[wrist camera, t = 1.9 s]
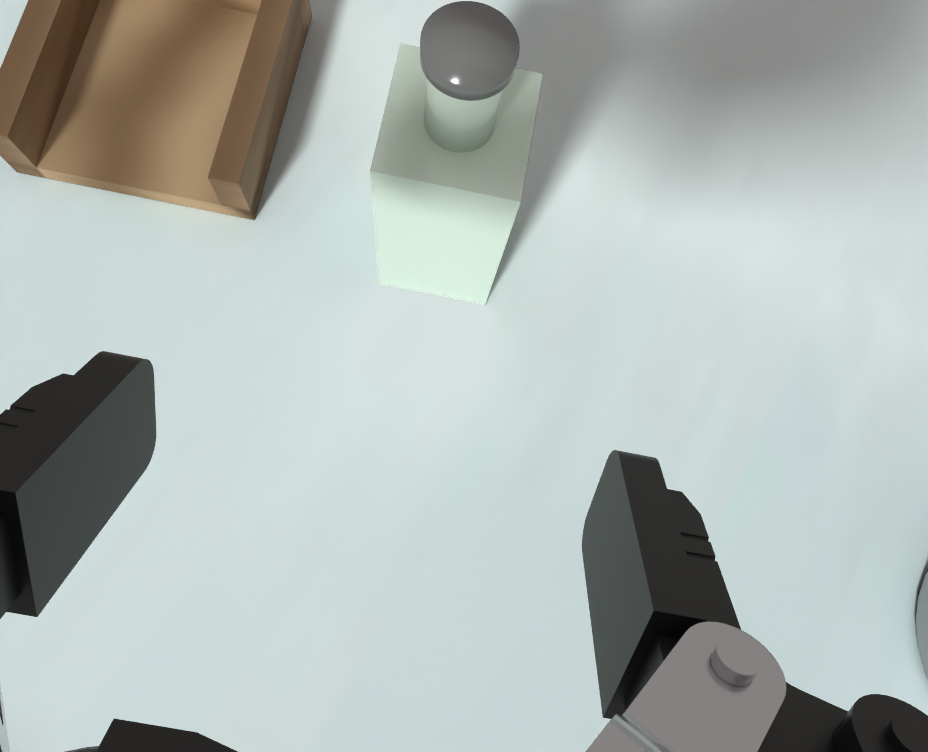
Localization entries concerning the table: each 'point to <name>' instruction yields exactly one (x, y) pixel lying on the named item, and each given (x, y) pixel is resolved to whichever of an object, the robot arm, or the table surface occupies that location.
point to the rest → (152, 96)
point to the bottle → (452, 154)
